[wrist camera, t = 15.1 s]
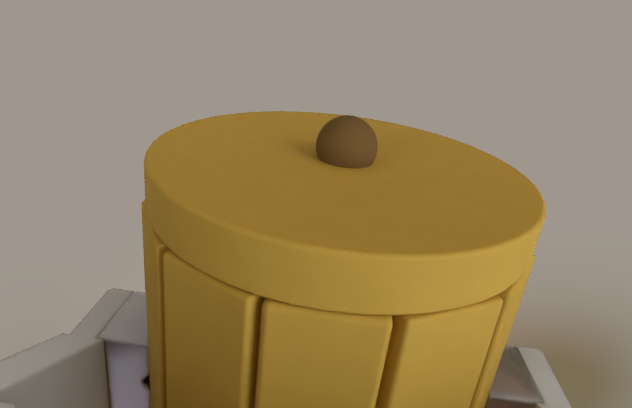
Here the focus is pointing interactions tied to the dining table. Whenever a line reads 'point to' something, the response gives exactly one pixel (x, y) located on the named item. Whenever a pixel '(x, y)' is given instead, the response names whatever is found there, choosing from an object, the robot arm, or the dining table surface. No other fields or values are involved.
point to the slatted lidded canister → (329, 263)
